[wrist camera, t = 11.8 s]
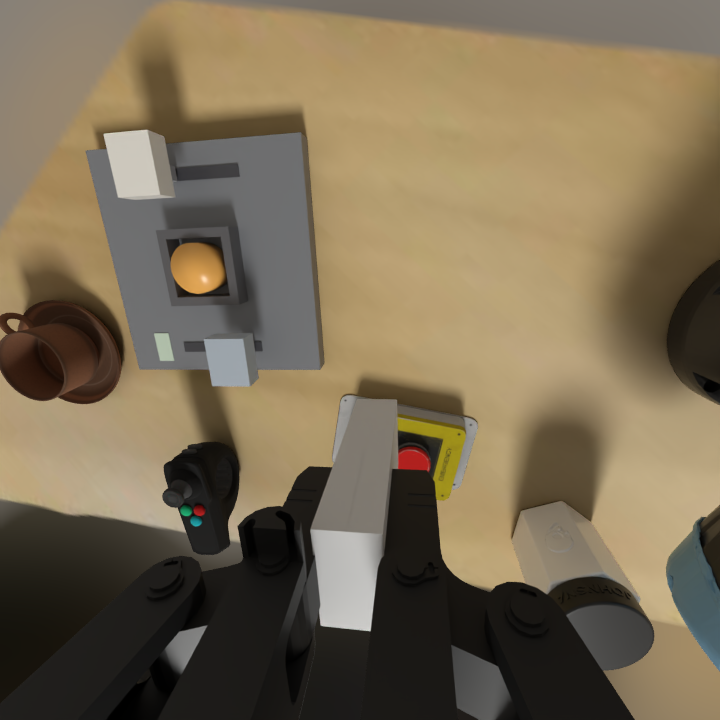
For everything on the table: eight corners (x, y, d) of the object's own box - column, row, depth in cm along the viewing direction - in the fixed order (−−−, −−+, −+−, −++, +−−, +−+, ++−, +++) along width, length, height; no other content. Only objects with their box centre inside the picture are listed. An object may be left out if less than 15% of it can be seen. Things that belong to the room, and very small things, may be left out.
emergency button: (463, 514, 38) (324, 485, 39) (458, 487, 42) (331, 461, 43) (487, 438, 35) (335, 408, 36) (479, 417, 39) (342, 391, 40)
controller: (234, 421, 43) (185, 474, 33) (255, 508, 46) (217, 577, 37) (200, 423, 43) (142, 475, 34) (224, 508, 47) (178, 576, 38)
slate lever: (263, 326, 36) (243, 338, 31) (268, 368, 37) (250, 386, 33) (228, 326, 36) (203, 339, 32) (235, 368, 38) (212, 386, 33)
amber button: (226, 241, 34) (213, 241, 32) (233, 289, 35) (221, 293, 33) (181, 243, 34) (165, 243, 32) (190, 290, 36) (176, 294, 34)
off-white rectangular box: (183, 144, 31) (147, 129, 27) (193, 200, 33) (160, 194, 28) (145, 147, 32) (103, 133, 27) (156, 202, 33) (118, 197, 29)
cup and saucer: (23, 362, 44) (-35, 381, 38) (48, 276, 40) (-13, 283, 34) (112, 415, 45) (68, 441, 39) (145, 336, 41) (101, 352, 35)
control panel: (306, 138, 32) (293, 125, 29) (324, 363, 39) (315, 376, 35) (102, 155, 35) (66, 145, 31) (151, 363, 42) (126, 375, 38)
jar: (582, 492, 40) (650, 593, 29) (599, 548, 42) (670, 663, 31) (500, 512, 42) (534, 614, 31) (521, 565, 44) (559, 678, 33)
